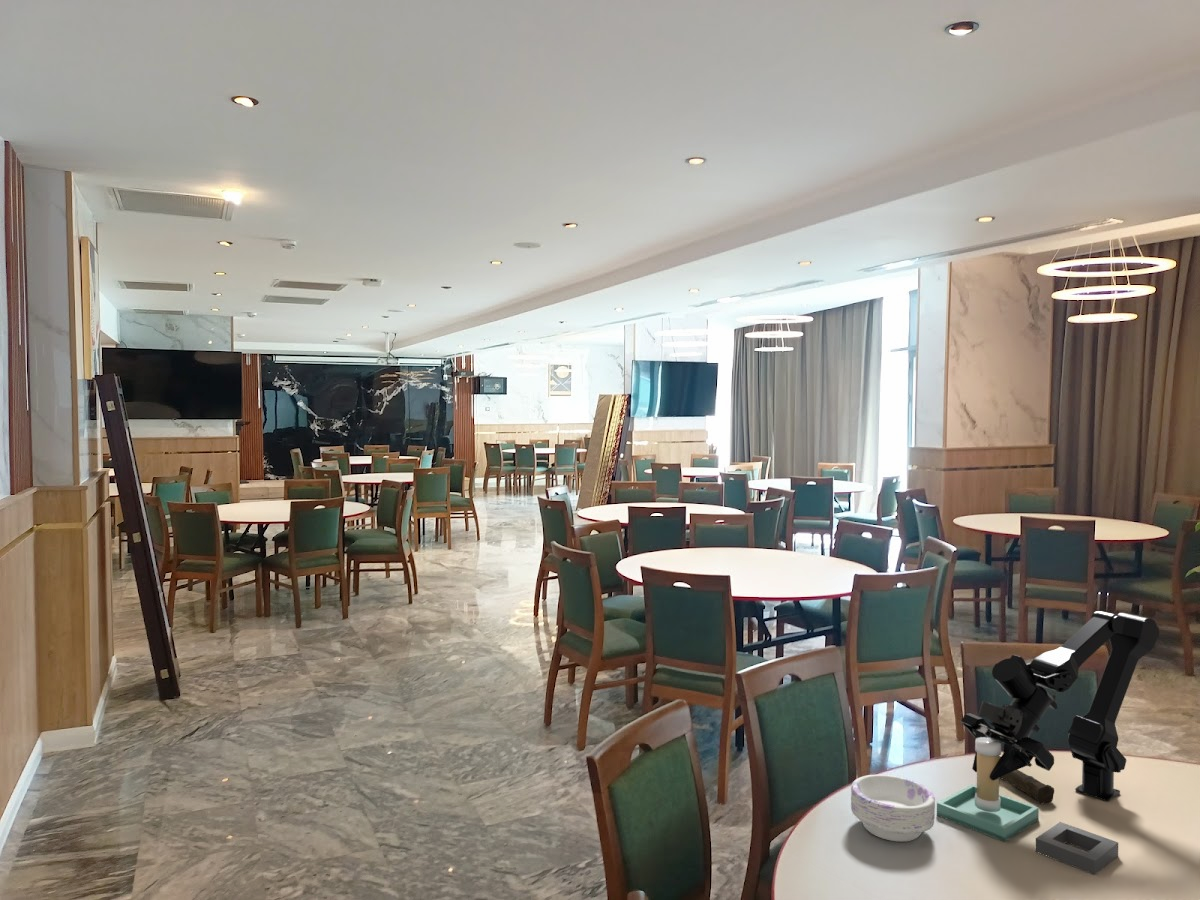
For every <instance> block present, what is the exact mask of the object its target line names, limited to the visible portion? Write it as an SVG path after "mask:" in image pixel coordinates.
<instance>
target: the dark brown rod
mask: <svg viewBox="0 0 1200 900" xmlns="http://www.w3.org/2000/svg"><path fill="white" fill-rule="evenodd" d="M1000 758H1001V755H999V759H1000ZM999 779H1002V780H1004V781H1006V782H1007V783H1009V784H1011V785H1012V786H1014V787H1016V788H1017V789H1019V790H1020V791H1023V792H1024V793H1026V794H1027V795H1028V796H1030V797H1032V798H1033V799H1036V801H1037V803H1038V804H1039V805H1045V804H1046V805H1047V804H1050V803H1052V802H1053V800H1054V794H1055V788H1054V787H1053V786H1051V785H1050V784H1045V783H1043V782H1041V781H1039V780H1038V779H1036V778H1035V777H1034V776H1031V775H1029V774H1028V775H1027V774H1026V773H1024V772H1023V771H1021V770H1019V769H1017V770H1015V771H1012V772H1010V773H1008V774H1006V775H1004V776H1002V777H1000V778H999Z"/></svg>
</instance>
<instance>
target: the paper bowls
mask: <svg viewBox="0 0 1200 900" xmlns="http://www.w3.org/2000/svg"><path fill="white" fill-rule="evenodd" d="M850 789H851V794H850V810H851V812H852V815H854V816H855V817H856V819H858V820H859V821H860V822H862V825H863V826H864V828H865V830H867V831H868V832H869V833H870V834H872V835H873V836H876V837H877V838H880V839H883V840H887V841H889V842H890V841H891V842H897V843H898V842H909V841H914V840H916V839H917V838H919V836H920V835H921V834H922V833H925V832H927V831H929V830H931V829H932V828H933V827H934V824H935V815H936V814H935V810H936V809H935V808H936V798H935V795H934V793H933V792H932V791H931V790H930V789H929V788H927V787H926V786H925V785H923V784H921V783H919V782H917V781H914V780H911V779H908V778H905V777H901V776H897V775H896V776H895V775H891V774H889V775H888V774H868V775H867V774H866V775H863V776H860V777H858V778H855V780H854V781H852V783H851V787H850Z"/></svg>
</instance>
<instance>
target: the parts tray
mask: <svg viewBox="0 0 1200 900" xmlns="http://www.w3.org/2000/svg"><path fill="white" fill-rule="evenodd" d="M975 793H977V785H974V784H970V785H969V784H968V786H966V787H964V788H962V789H960V790H958V791H957V792H954V793H953V794H951V795H949V796H947V797H946V798H944V799H942V800H940V801H938V802H936V816H938V817H940V818H943V819H944V820H948V821H950V822H953V823H956V824H958V825H960V826H963V827H966V828H968V829H971V830H974V831H976V832H978V833H981V834H984V835H986V836H989V837H991V838H993V839H996V840H999V841H1001V842H1004V843H1005V842H1007V841H1008V840H1010V839H1013V837H1015V836H1016V835H1018V834H1020V833H1021V832H1023V831H1024V830H1025V829H1027V828H1028V827H1031V825H1033V824H1035V823H1037V822H1038V821H1039V813H1040V812H1039V809H1040V807H1037V806H1035V805H1032V804H1029V803H1026V802H1023V801H1020V800H1018V799H1015V798H1012V797H1008V796H1006V795H1003V794H1001V793H999V797H1000V799H1001V802H1000V810H999V811H997V812H988V811H983V810H981V809H979V808H977V807H976V806H975ZM1037 820H1038V821H1037Z"/></svg>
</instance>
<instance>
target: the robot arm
mask: <svg viewBox="0 0 1200 900" xmlns="http://www.w3.org/2000/svg"><path fill="white" fill-rule="evenodd" d="M1159 637H1160V629H1159V626H1158V624H1157V622H1156V621H1155V620H1154V619H1153V618H1149V617H1145V616H1141V615H1137V614H1132V613H1129V612H1128V613H1127V612H1119V613H1118V614H1117V613H1112V612H1107V611H1103V610H1098V611H1094V612H1092V615H1091V617H1090V619H1089V620H1088V621H1087V622H1086V623H1085V624H1084V625H1083V626H1081V627H1080V629H1079V630H1077V631H1076V632H1075V633H1074V634H1072V636H1071V637H1069V638H1068V639H1067V640H1066V641H1065V642H1064V643H1063V644H1062V645H1060V646H1059V647H1057V648H1056V649H1052V650H1048V651H1045V652H1044V651H1043V652H1042V653H1041V654H1040V655H1038V656H1036V657H1035V658H1033V659H1032V661H1030V662H1027V663H1026V661H1025V660H1024V658H1023V657H1022V656H1020V655H1017V654H1012V655H1011V656H1010V657H1009V658H1005V659H1002V660H1000V661H999V662H997V663H995V664H994V666H993V668H992V670H991V675H992V677H993V678H994V681H996V682H997V683H998V685H1000V687H1001V688H1002V689H1003V690H1004V691H1005V692H1006V694H1007V695H1008V696H1009V697H1011V698H1012V699H1013V700H1012V701H1011V702H1010V704H1007V703H1004V704H1002V706H1001V707H1000V706H998V705H995V704H993V703H990V702H987V701H985V700H982V702H981V705H980V708H979V711H978V714H977V715H975V714H973V713H970V712H969V713H965V714H964V715H963V717H962V718H961V720H960V721H959V723H960V724H961V725H962V726H963V727H964V728H965V729H966V730H967V731H968V732H969V733H970V734H971V735H972V737H974V738H975V739H976V738H980V737H987V738H993V739H996V740H998V741H1000V742H1001V744H1003V752H1002V754H1001V755H1000V757H1001V758H1000V759H999V761H998V762H997V764H996V766H995V767H994V769H993V770H992V772H991V774H990V779H991V780H993V781H994V780H996V779H998V778H999V779H1001V778H1000V777H1002V776H1004V775H1006V774H1008V773H1010V772H1012V771H1015V770H1019V769H1022V768H1025V767H1029V768H1031V767H1032V766H1033V764H1032V763H1031V762H1032V760H1033V759H1034V763H1035V765H1036V766H1037V767H1038V768H1041V769H1044V770H1046V771H1051V770H1052V768H1053V766H1054V765H1055V756H1054V755H1053V754H1052V752H1050V750H1049V749H1048V748H1047V747H1046V746H1045V745H1044V743H1043V742H1040V741H1039V740H1036V739H1033V738H1031V737H1030V735H1031V733H1032V732H1036V733H1038V731H1039V730H1040V729H1041V728H1040V727H1039V726H1038V725H1037V724H1038V723H1039V722H1040V720H1041V719H1042V718H1043V716H1044V714H1045V712H1046V711H1047V709H1048V708H1050V709H1053V710H1055V711H1056V710H1058V702H1057V701H1056V695H1055V694H1052V693H1048V691H1047V690H1046V689H1049V690H1051V691H1055V692H1057V693H1058V692H1059V693H1065V692H1067V691H1068V690H1069V689H1070V688H1071V687H1072V686H1073V684H1074V683H1075V682H1076V680H1077V679H1078V678H1079V669H1080V667H1081V666H1082V665H1083V664H1084V663H1085V662H1086V661H1087V660H1088V659H1090V658H1091V656H1092V655H1094V653H1096V652H1097V651H1098V650H1099V649H1100V648H1101V647H1102V646H1103V645H1104V644H1106V642H1107V641H1108V640H1109V644H1110V647H1111V652H1110V654H1109V657H1108V659H1107V662H1106V665H1105V667H1104V670H1103V672H1102V676H1101V678H1100V681H1099V684H1098V686H1097V689H1096V691H1095V694H1094V698H1093V699H1092V703H1091V705H1090V707H1089V710H1088V712H1086V713H1085V714H1084V715H1082V716H1080V715H1075V716H1074V717H1073V720H1072V724H1071V726H1070V728H1069V729H1068V731H1067V733H1068V736H1067V737H1068V738H1067V743H1068V745H1069V748H1070V752H1071V757H1072V758H1073V759H1077V760H1079V761H1081V762H1082V763H1081V767H1082V768H1081V769H1082V771H1081V773H1082V774H1081V775H1082V776H1081V777H1082V778H1081V779H1082V780H1081V784H1080V785H1077V787H1075V792H1077V793H1081V794H1084V795H1087V796H1090V797H1093V798H1096V799H1098V800H1099V799H1100V800H1102V801H1106V802H1109V801H1111V800H1113V799H1114V798H1116V797H1117V796H1118V795H1120V794H1121V790H1119V789H1116V788H1115V787H1114V785H1115V784H1114V783H1115V781H1114V780H1115V773H1118V774H1119V773H1121V771H1124V770H1125V768H1126V764H1127V758H1126V757H1125V756H1124V755H1123V754H1122V752H1121V751H1120V750H1119V749H1118V747H1117V746H1118V742H1119V735H1118V732H1117V731H1118V730H1117V728H1116V721H1117V718H1118V715H1119V713H1120V710H1121V709H1122V708H1121V707H1122V705H1123V703H1124V699H1125V697H1126V694H1127V691H1128V689H1129V685H1130V683H1131V680H1132V678H1133V674H1134V673H1135V669H1136V667H1137V664H1138V662H1139V660H1140V659H1141V658H1143V657H1144V656H1146V655H1147V654H1149V653H1150V652H1151V651H1152V650H1153V649H1154V648H1153V647H1154V645H1155V644H1156V642H1157V640H1158V638H1159ZM1045 688H1046V689H1045ZM984 718H985V719H988V723H989V724H988V723H987V722H986V720H985V719H984ZM990 725H991V726H992V727H991V726H990ZM973 759H974V760H973V764H972V770H973V771H974V772H975V773H977V752H976V751H975V754H974V758H973Z"/></svg>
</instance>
